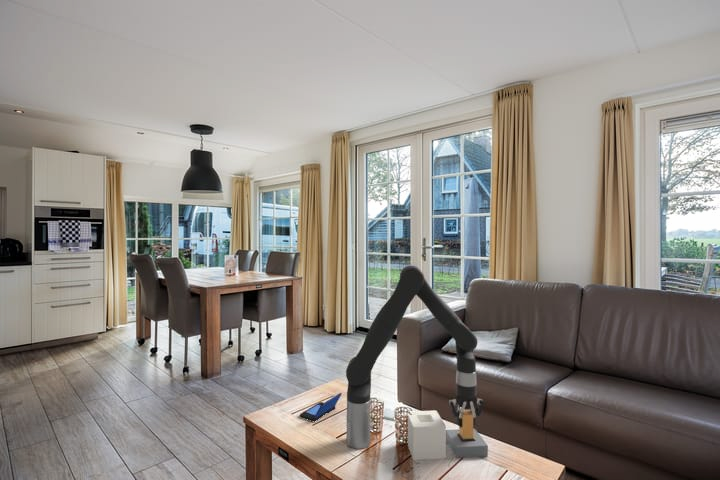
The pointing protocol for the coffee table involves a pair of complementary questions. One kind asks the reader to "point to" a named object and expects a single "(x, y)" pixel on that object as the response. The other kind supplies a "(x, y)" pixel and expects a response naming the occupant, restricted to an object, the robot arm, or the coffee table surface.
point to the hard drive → (389, 414)
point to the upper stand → (426, 435)
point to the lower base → (466, 444)
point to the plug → (467, 425)
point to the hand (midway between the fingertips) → (466, 426)
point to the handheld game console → (320, 409)
